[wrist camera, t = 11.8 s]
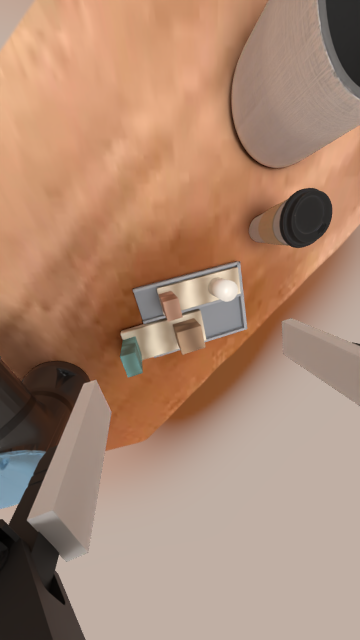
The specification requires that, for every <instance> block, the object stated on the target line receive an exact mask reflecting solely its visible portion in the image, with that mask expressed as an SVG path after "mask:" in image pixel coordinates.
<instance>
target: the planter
mask: <svg viewBox="0 0 360 640" xmlns="http://www.w3.org/2000/svg"><path fill="white" fill-rule="evenodd" d="M231 104H232V115H233V121H234V125H235V128H236V132H237V134H238V137H239V139H240V141H241V143H242V145H243V146H244V148H245V150H246V151H247V152H248V153H249V154H250V156H251V157H253V158H254V159H255V160H256V161H257V162H259V163H261V164H263V165H265V166H268V167H272V168H283V167H287V166H290V165H293V164H295V163H297V162H299V161H301V160H303V159H304V158H306V157H308V156H309V155H311V154H313V153H314V152H316V151H318V150H319V149H321V148H323V147H324V146H326V145H327V144H329V143H331V142H332V141H334V140H336V139H337V138H339V137H341V136H342V135H344V134H345V133H347V132H349V131H350V130H352V129H354V128H355V127H357V126H359V125H360V0H268V2H267V4H266V6H265V8H264V10H263V12H262V13H261V15H260V17H259V19H258V21H257V23H256V25H255V27H254V29H253V30H252V32H251V34H250V36H249V38H248V40H247V42H246V44H245V46H244V48H243V50H242V53H241V55H240V58H239V60H238V63H237V66H236V69H235V73H234V78H233V83H232V94H231Z"/></svg>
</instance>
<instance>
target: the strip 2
mask: <svg viewBox="0 0 360 640" xmlns="http://www.w3.org/2000/svg"><path fill="white" fill-rule="evenodd" d="M182 316H183V318H179V319H176V320H172V321H169V322H168V321H167V318H164V319H160V320H157V321H153V322H150V323H147V324H143V325H140V326H136V327H133V328H129V329H126V330H122V331H121V336H122V339H123V342H122V348H121V354H120V358H121V361H122V363H123V366H124V368H125V371H126V373H127V376H128V377H131V376H135V375H138V374H141V373H143V372H142V360H144V359H148V358H151V357H154V356H157V355H160V354H164V353H167V352H170V351H173V350H176V349H180V348H179V346H178V343H177V340H176V336H175V332H174V328H173V324H175V323H179V322H182V321H186V320H189V319H192V318H195V319H196V321H197V322H198V323H199V324H200V325H201V328H202V332H203V337H204V341H205V340H206V335H205V330H204V325H203V320H202V315H201V311H200V310H199V309H195V310H191V311H188V312H185V313H182Z"/></svg>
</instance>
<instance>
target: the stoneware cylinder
mask: <svg viewBox="0 0 360 640" xmlns="http://www.w3.org/2000/svg"><path fill="white" fill-rule="evenodd" d="M208 290H209V293H210V294H211V295H213V296H215V297H217V298H219V299H221V300H222V301H225V302H229V301H231V300H233V299H234V298H235V297H236V295H237V293H238V287H237V285H236V283H235V282H233V281H230V280H226V279H223V278H218V277H217V278H214V279H212V280H211V281H210V283H209V285H208Z"/></svg>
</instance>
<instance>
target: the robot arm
mask: <svg viewBox="0 0 360 640" xmlns="http://www.w3.org/2000/svg"><path fill="white" fill-rule="evenodd" d="M282 338H283V354H284V355H285V356H287V357H288V358H290V359H291V360H293V361H294V362H295V363H297V364H298V365H300V366H301V367H303V368H304V369H306V370H307V371H309V372H310V373H312V374H313V375H315V376H316V377H318V378H319V379H321V380H322V381H324V382H325V383H327V384H328V385H329V386H331V387H332V388H334V389H335V390H337V391H338V392H340V393H341V394H343V395H344V396H346V397H347V398H349V399H350V400H352V401H353V402H355V403H356V404H358V405H359V406H360V344H357V343H351V342H348V341H346V340H343V339H341V338H339V337H336V336H334V335H331V334H329V333H326V332H324V331H321V330H319V329H316V328H314V327H312V326H309V325H306V324H304V323H302V322H299V321H297V320H294V319H292V318H291V319H288V320H284V321H282ZM0 358H1V356H0ZM110 418H111V410H110V408H109V406H108V404H107V402H106V399H105V397H104V395H103V393H102V391H101V389H100V387H99V385H98V383H97V380H94V381H91V382H90V380H89V378H88V376H87V375H86V373H85V372H84V371H83V370H81V369H80V368H79V367H77V366H75V365H73V364H70V363H67V362H61V361H52V362H46V363H43V364H40V365H38V366H36V367H34V368H33V369H32V370H31V371H30V372H29V373H28V374H27V375H26V376H25V377H24V378H23V380H22V381H20V380H19V379H18V378H17V376H16V375H15V374H14V373H13V372H12V371H11V370H10V369H9V368H8V366H7V365H6V364H5V363H4V362H3V361H2V360H1V359H0V509H2V508H6V507H10V506H13V505H16V504H18V506H17V508H16V511H15V513H14V515H13V517H12V519H11V521H10V523H9V525H8V524H7V523H6V522H5V521H4V520H3V519H0V640H85V637H84V635H83V633H82V630H81V628H80V625H79V623H78V621H77V618H76V616H75V614H74V611H73V609H72V606H71V604H70V601H69V599H68V596H67V594H66V592H65V589H64V587H63V584H62V582H61V580H60V577H59V575H58V573H57V572H56V571H55V568H56V564H57V560H58V556H59V555H60V556H61V557H62V558H63V559H64V560H65V561H66V562H67V561H70V560H72V559H74V558H77V557H79V556H82V555H84V554H86V553H88V551H89V544H90V538H91V532H92V527H93V520H94V515H95V509H96V502H97V496H98V490H99V484H100V478H101V472H102V466H103V460H104V454H105V448H106V442H107V436H108V430H109V424H110Z"/></svg>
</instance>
